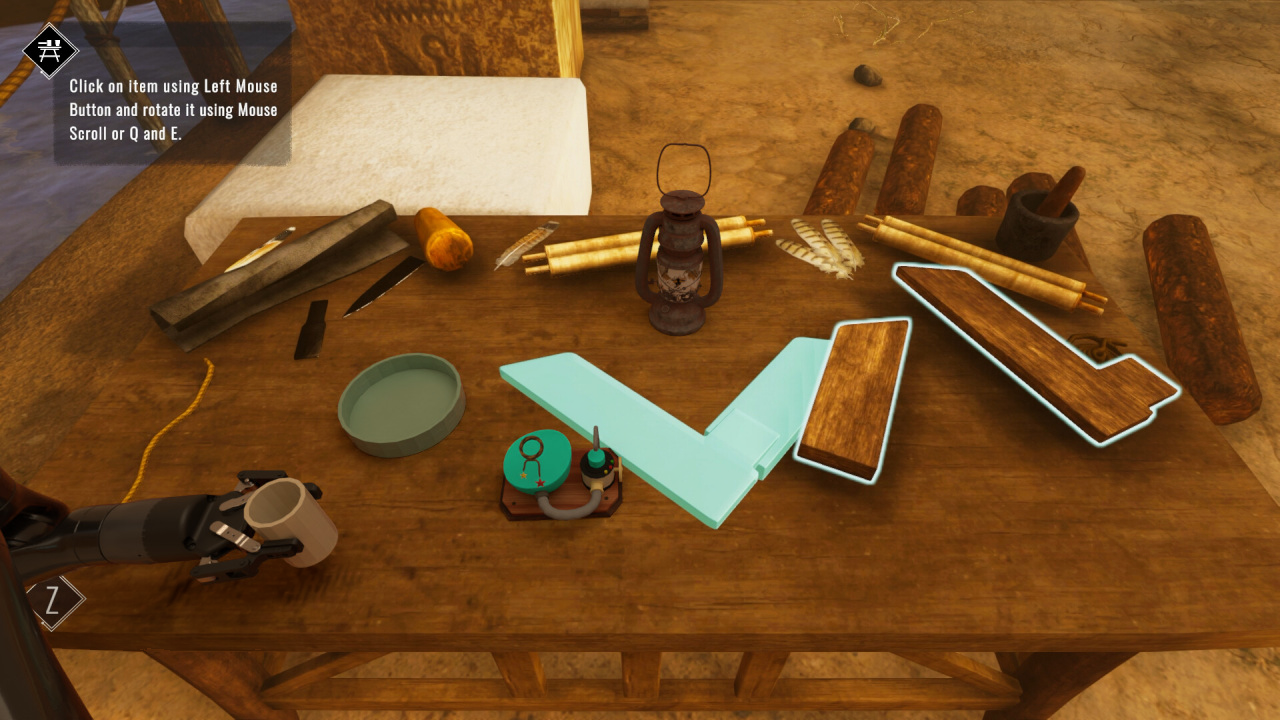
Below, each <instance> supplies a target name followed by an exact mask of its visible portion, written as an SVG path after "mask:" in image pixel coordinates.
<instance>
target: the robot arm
mask: <svg viewBox="0 0 1280 720" xmlns="http://www.w3.org/2000/svg"><path fill="white" fill-rule="evenodd" d="M236 478H237V479H238V480H239V481H238V482H237V484H236V486H235V488H234V489H233V490H231V491H228V492H226V493H223V494H218V495H217V494H209V493H201V494H200V493H199V494H186V495H174V496H164V497H163V496H161V497H150V498H144V499H138V500H134V501H129V502H128V501H126V502H115V503H114V502H113V503H106V504H105V503H103V504H92V505H86V506H81V507H79V508H76V509H75V510H73V511H72V509H71V508H70V506H68V504H66V503H65V502H64V501H61V500H59V499H57V498H54V497H51V496H48V495H45V494H42V493H40V492H38V491H36V490H33V489H32V488H29V487H27V486H25V485H22V484H21V483H19V482H17V481H15V480H14V479H13V478H12V476H10V474H8V473H7V472H6V470H4V469H3V468H2V467H1V466H0V720H95V719H94V718H93V716H92V714H91V713H90V710H89V709H88V708H87V707H86V704H85V702H84V701H83V700H82V697H81V695H80V694H79V693H78V691H77V689H76V688H75V686H74V684H73V683H72V681H71V679H70V678H69V676H68V675H67V673H66V671H65V670H64V668H63V666H62V664H61V663H60V660H59V659H58V657H57V655H56V653H55V652H54V650H53V648H52V646H51V644H50V642H49V640H48V637H47V635H46V633H45V631H44V629H43V626H42V624H41V622H40V620H39V618H38V616H37V613H36V612H35V610H34V607H33V605H32V603H31V600H30V597H29V596H28V593H27V589H26V588H29V587H32V586H35V585H38V584H42V583H45V582H47V581H50V580H54V579H57V578H59V577H62V576H65V575H68V574H71V573H75V572H78V571H80V570H83V569H86V568H91V567H92V568H94V567H106V566H117V565H133V566H141V565H148V566H149V565H150V566H151V565H156V564H166V563H167V564H169V563H177V562H178V563H179V562H191V561H199V564H198V565H195V566H193V567H192V568H191V569H190V571H189V575H190V576H191V577H192V578H193V579H195V580H196V581H197V582H199V583H200V584H201V585H203V586H212V585H216V584H222V583H227V582H235V581H239V580H240V581H241V580H245V579H252V578H254V577H257V576H258V574H259V572H260V569H259V568H260V567H261V565H262V564H263V563H265V562H267V561H269V560H278V559H279V560H280V559H283V558H291V557H293V556H296V553H301V552H303V549H304V544H303V543H302V542H301V541H300V540H299V539H296V538H291V539H281V540H267V541H265V540H263V543H261V542H259V541H257V540H255V539H254V537H255V536H256V535H255V534H256V533H257V532H256V531H255V530H254V529H253V528H252V527H251V526H250V525H249V524H248V523H247V521H246V520H245V519H244V508H245V505H246V503H247V501H248V499H249V498H250V497H251V496H252V495H253V493H254V492H255V491H256V490H257V489H259V488H260V487H262V486H263V485H265V484H266V483H268V482H271V481H274V480H276V479H280V478H290V477H289V475H288V473H287V472H286V471H285V470H284V469H263V470H262V469H258V470H257V469H251V470H250V469H247V470H245V469H244V470H243V469H242V470H241V471H239V472H238V473H237V474H236ZM301 483H302V484H303V485H304V486H305V488H306V489H307V490H308V491H309V493H310V494H311V495H312V497H313V498H314V499H315V500H316V501H317V500H321V499H322V497H323V494H324V492H323V491H322V489H321V488H320V487H319V486H318V485H317V484H316V483H314V482H301ZM233 551H237V552H239V553H241V554H243V555H245V556H244V557H241V558H240V557H239V558H234V559H229V560H222V561H219V559H221V558H222V557H225V556H226V555H228V554H230V553H232V552H233Z"/></svg>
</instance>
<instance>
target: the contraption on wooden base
mask: <svg viewBox="0 0 1280 720" xmlns="http://www.w3.org/2000/svg"><path fill="white" fill-rule="evenodd" d="M592 431H593V433H592V435H593V437H592V447H581V448H580V447H579V448H577V447H576V448H572V446H571V443H570V441H569V439H568V438H567V436H566V435H565V434H564V433H563V432H560V431H559V430H555V429H549V428H547V429H537V430H535V431H532V432H529V433H526V434H524V435H523V436H520V437H519V438H518V439H516V440H514V442H513V443H512V444H511V445H510V447H509V448H508V449H507V451H506V453H505V455H504V459H503V465H502V466H503V467H502V468H503V475H502V481H501V487H500V494H499V501H498V507H499V508H500V509H501V511H502V513H503V514H504V515H505V516H506V519H508V520H509V522H519V521H520V522H521V521H547V520H557V521H566V522H567V521H574V520H579V519H595V518H596V519H597V518H598V519H599V518H612V516H613V515H614V514H615V512H616V511H617V510H618V509H619V507H620V506H621V505H622V504H623V471H624V467H623V460H622V458H623V457H622V456H619V455H618V454H617V453H616V452H615V451H614V450H613V449H612V448H611V447H605V446H604V447H601V441H600V434H599V432H600V431H599V426H598V425H594V426H593V429H592Z"/></svg>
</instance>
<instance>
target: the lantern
mask: <svg viewBox="0 0 1280 720" xmlns="http://www.w3.org/2000/svg"><path fill="white" fill-rule="evenodd" d="M669 146H687V147H698V148H701V149H703V151H704V152H705V153H706V157H707V161H708V167H709V169H708V170H709V178H708V185H707V187H706V190H705V192H704V193H703V194H700V193H699V192H696V191H693V190H691V189H690V190H689V189H675V190H670V191H667V192H665V191H663V190H662V188H661V186H660V182H659V173H660V172H659V170H660V163H661V159H662V155H663V154H664V151H665V149H666V148H668V147H669ZM655 174H656V176H655V177H656V186H657V188H658V190H659V192H660V193H661V194H662V195H661V197H660V199H659V204H660V207H661V208H662V210H660V211H655V212H652V213H651V214H648V216H647V218H645V221H644V224H643V226H642V231H641V234H640V239H639V240H640V241H639V245H638V252H637V258H636V263H635V264H636V265H635V271H634V272H635V274H634V285H635V291H636V292H637V295H638V296H639V297H640V299H642V300H643V301H644V302H646V303H648V304H651V306H650V307H649V309H648V320H649V322H650V324H651V326H652V327H653V329H655V330H657V331H658V332H660V333H662V334H664V335H668V336H673V337H674V336H675V337H682V336H689V335H691V334H694V333H696V332H698V331H699V330H700V329H702V327H703V326H704V324H705V322H706V318H707V317H706V316H707V315H706V309H708V308H710V307H712V306H714V305H716V304H717V303H718V302H719V301H720V299H721V297H722V294H723V289H724V260H723V259H724V258H723V249H722V248H723V247H722V237H721V231H720V227H719V223H718V222H717V221H716V219H714V217H713V216H712V215H711V216H710V215H708V214H705V213H702V210H703V208H704V207H705V205H706V200H705V198H704V197H705V196H707V194H708V193H709V191H710V188H711V183H712V161H711V156H710V154H709V151H708V149H707V147H705V146H704V145H702V144H700V143H699V144H698V143H688V142H669V143H666V144H665V145H664V146H663V147H662V148H661V150H660V153H659V156H658V159H657V165H656V173H655ZM657 230H658V234H657V242H658V244H659V245H658V248H657V252H656V265H657V266H656V274H657V280H656V279H655V278H653V277H652V278H650V280H649V270H650V269H649V268H650V260H651V258H652V257H651V256H652V251H653V246H654V241H655V236H656V233H657ZM704 233H705V235H704ZM705 237H706V244H707V253H708V263H709V275H710V282H709V283H710V284H709V285H710V286H709V290H708V292H707V294H705V295H700V294H699V293H698V291H699V290H700V289H701V288H702V287H703V286H702V284H701V276H702V272H703V264H704V263H703V262H704V257H705V256H704V252H703V251H704V249H703V247H702V246H703V244H704V243H705ZM689 273H691V274H692V275H693V276H694V279H693V278H692V277H690V276H688V275H689ZM664 275H667V276H668V278H670V279H666V278H665V277H664ZM674 281H676V282H674ZM681 281H682V282H681ZM655 283H656V287H658V290H659V291H658V292H656V291H652V290H651V289H650V287H649V285H652V286H654V285H655Z"/></svg>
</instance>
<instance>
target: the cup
mask: <svg viewBox="0 0 1280 720" xmlns="http://www.w3.org/2000/svg"><path fill="white" fill-rule="evenodd" d="M302 483H303V482H302V481H300V480H299V479H296V478H293V477H289V478H280V479H276V480H274V481H271V482H268V483H266V484H265V485H263V486H262V487H260V488H259V489H257V490H256V491H255V492H254V493H253V495H252V496H251V497H250V498H249V499H248V501H247V503H246V505H245V508H244V519H245V520H246V521H247V523H248V524H249V525H250V526H251V527H252V528H253V529H254V530H255V531H256V532H255V533H257V534H258V535H259V537H261V538H262V539H263V541H267V540H281V539H291V538H296V539H299V540H300V541H301V542H302V543H303V544H304V549H303V552H301V553H296V556H293V557H291V558H282V560H283V561H285V562H286V563H287V564H288V565H290V566H291V567H293V568H294V567H295V568H298V569H299V568H308V567H313V566H315V565H317V564H319V563H320V562H322V561H323V560H325V559H326V558H328V556H329V555H330V554H331V553H332V552H333V551H334V549H335V547H336V546H337V543H338V541H339V531H338V528H337V526H336V525H335V524H334V521H332V519H331V518H330V516H329V515H328V514H327V513H326V512H325V511H324V509H323V508H322V506H321V505H320V504H319V502H318V501H317V500H315V499H314V498H313V497H312V495H311V494H310V493H309V491H308V490H307V489H306V488H305V486H304V485H303V484H302Z"/></svg>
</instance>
